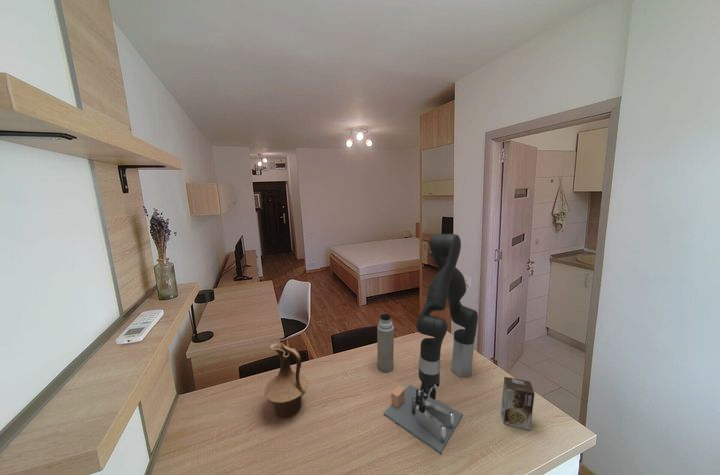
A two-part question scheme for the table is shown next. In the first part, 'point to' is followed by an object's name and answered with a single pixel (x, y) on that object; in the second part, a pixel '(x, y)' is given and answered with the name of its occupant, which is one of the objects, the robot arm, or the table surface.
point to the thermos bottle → (385, 344)
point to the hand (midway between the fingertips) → (427, 404)
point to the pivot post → (413, 405)
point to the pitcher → (286, 384)
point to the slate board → (409, 423)
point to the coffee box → (517, 403)
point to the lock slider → (398, 396)
